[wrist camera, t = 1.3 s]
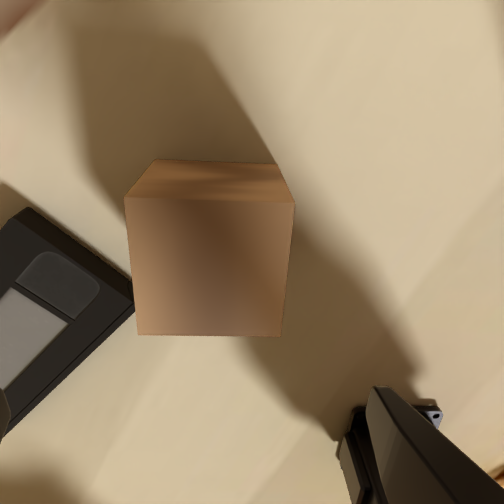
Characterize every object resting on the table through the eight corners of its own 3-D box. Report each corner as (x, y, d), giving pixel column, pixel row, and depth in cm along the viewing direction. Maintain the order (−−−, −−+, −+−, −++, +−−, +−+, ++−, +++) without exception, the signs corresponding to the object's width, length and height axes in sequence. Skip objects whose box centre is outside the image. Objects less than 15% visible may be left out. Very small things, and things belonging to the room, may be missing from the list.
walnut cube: (277, 163, 19) (295, 203, 13) (268, 268, 21) (280, 336, 16) (155, 158, 18) (123, 197, 13) (162, 266, 21) (137, 335, 16)
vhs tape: (-93, 357, 23) (-120, 381, 22) (31, 202, 19) (11, 216, 18) (17, 413, 26) (1, 439, 24) (147, 287, 22) (139, 306, 20)
